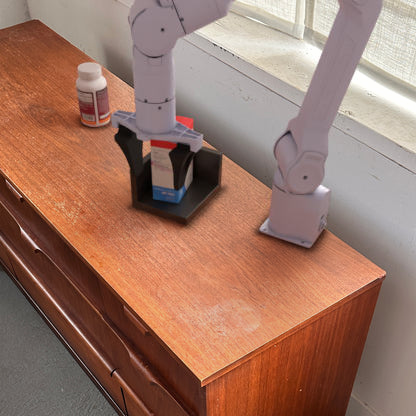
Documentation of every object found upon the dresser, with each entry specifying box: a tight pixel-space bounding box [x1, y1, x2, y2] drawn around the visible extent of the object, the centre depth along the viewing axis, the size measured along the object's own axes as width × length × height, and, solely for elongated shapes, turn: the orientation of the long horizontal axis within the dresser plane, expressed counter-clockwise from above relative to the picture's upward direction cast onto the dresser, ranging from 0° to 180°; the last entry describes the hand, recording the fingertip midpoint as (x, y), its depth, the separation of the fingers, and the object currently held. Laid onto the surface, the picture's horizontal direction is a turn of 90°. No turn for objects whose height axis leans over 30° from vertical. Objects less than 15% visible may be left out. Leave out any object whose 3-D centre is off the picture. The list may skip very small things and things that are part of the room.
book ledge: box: [129, 145, 224, 226], centre depth 110 cm, size 11×13×8 cm
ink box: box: [149, 115, 194, 204], centre depth 107 cm, size 8×5×15 cm, turn 164°
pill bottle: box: [75, 61, 111, 128], centre depth 127 cm, size 6×6×11 cm
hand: (158, 180), depth 98 cm, fingers open, 7 cm apart
